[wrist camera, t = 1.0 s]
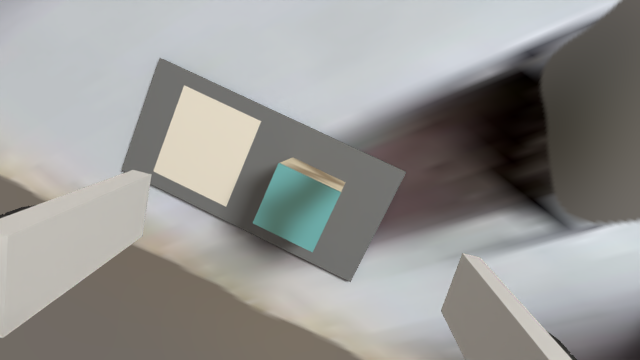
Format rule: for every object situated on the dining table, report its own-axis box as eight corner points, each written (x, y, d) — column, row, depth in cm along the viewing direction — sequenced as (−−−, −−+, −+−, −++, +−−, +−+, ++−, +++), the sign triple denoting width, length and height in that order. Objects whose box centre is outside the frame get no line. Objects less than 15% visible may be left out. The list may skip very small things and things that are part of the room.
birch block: (345, 182, 37) (340, 192, 31) (321, 232, 38) (312, 252, 32) (292, 157, 37) (278, 163, 32) (270, 208, 39) (252, 223, 33)
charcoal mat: (405, 171, 37) (405, 172, 36) (350, 279, 39) (350, 282, 38) (162, 59, 38) (159, 57, 38) (125, 169, 41) (121, 169, 40)
